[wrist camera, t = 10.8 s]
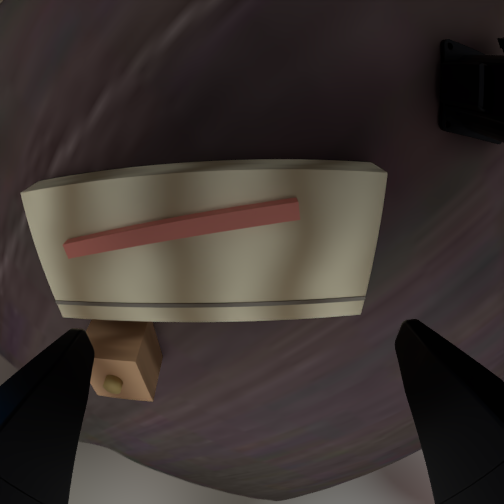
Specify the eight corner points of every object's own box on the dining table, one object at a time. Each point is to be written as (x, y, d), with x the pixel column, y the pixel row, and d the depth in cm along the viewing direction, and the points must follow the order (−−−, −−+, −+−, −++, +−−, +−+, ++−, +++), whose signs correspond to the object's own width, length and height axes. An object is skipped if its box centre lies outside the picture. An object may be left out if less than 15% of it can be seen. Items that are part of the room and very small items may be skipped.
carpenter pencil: (296, 197, 16) (298, 202, 15) (298, 214, 16) (300, 219, 16) (67, 239, 17) (62, 244, 16) (73, 253, 17) (68, 258, 16)
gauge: (150, 313, 23) (132, 370, 18) (162, 355, 25) (151, 409, 20) (95, 312, 23) (70, 363, 18) (112, 352, 25) (95, 402, 20)
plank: (371, 162, 17) (388, 173, 15) (351, 293, 22) (361, 315, 20) (39, 180, 17) (19, 193, 15) (74, 298, 22) (62, 317, 20)
